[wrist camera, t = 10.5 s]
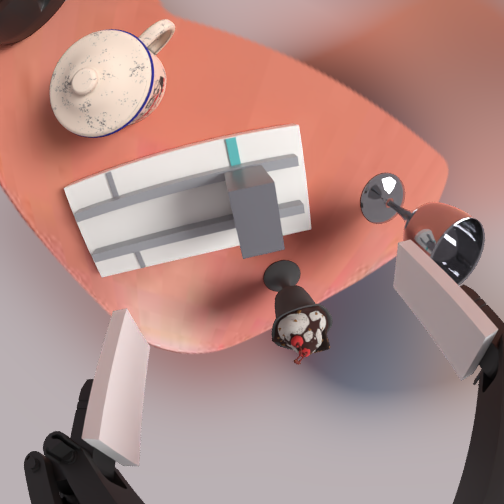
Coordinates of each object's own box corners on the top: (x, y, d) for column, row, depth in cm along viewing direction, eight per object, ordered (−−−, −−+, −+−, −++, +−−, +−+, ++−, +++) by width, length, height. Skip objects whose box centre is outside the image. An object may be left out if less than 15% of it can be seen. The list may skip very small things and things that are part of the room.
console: (70, 183, 28) (57, 192, 25) (293, 123, 29) (303, 126, 26) (106, 268, 34) (98, 284, 31) (306, 222, 35) (315, 235, 32)
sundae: (250, 263, 37) (274, 355, 24) (301, 248, 37) (348, 331, 24) (262, 301, 40) (286, 391, 27) (309, 287, 40) (348, 371, 27)
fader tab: (223, 169, 28) (227, 192, 22) (258, 161, 28) (274, 182, 22) (235, 222, 31) (243, 258, 25) (268, 215, 31) (284, 249, 25)
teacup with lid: (128, 143, 27) (86, 169, 17) (73, 95, 23) (13, 101, 13) (208, 61, 24) (207, 37, 14) (149, 12, 20) (119, -28, 10)
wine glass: (376, 237, 37) (440, 304, 24) (346, 198, 34) (417, 262, 21) (415, 199, 35) (489, 253, 22) (389, 157, 32) (475, 200, 19)
